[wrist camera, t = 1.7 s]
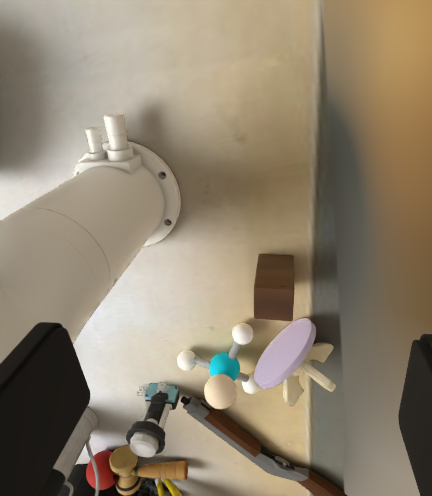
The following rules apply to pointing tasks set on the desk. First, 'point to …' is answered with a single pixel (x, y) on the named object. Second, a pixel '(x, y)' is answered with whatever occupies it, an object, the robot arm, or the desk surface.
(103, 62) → the desk surface
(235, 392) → the molecule model
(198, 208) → the desk surface
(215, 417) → the gun
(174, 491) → the figurine
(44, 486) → the glass holder
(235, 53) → the desk surface
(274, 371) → the toy table
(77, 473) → the black cooking pot
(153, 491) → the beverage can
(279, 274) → the brown rectangular block
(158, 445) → the push button
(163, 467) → the kendama
